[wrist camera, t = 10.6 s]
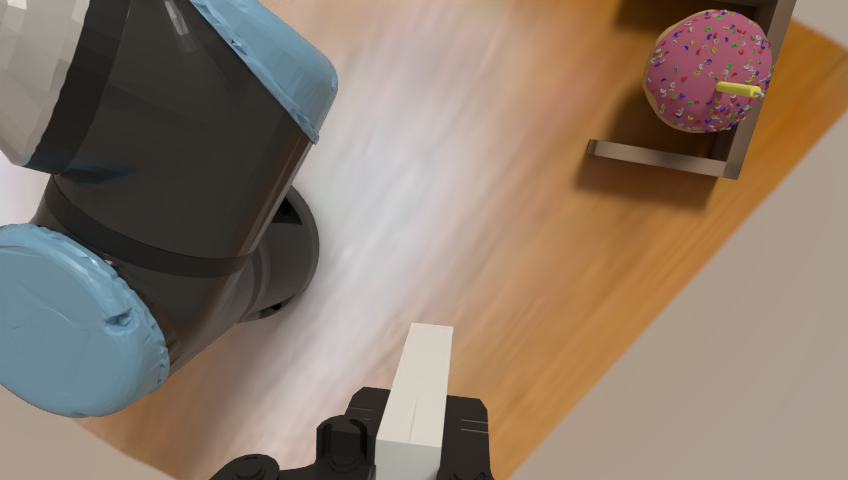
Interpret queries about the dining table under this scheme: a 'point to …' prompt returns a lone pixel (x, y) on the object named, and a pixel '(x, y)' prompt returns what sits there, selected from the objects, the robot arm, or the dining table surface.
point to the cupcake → (708, 71)
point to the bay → (729, 145)
